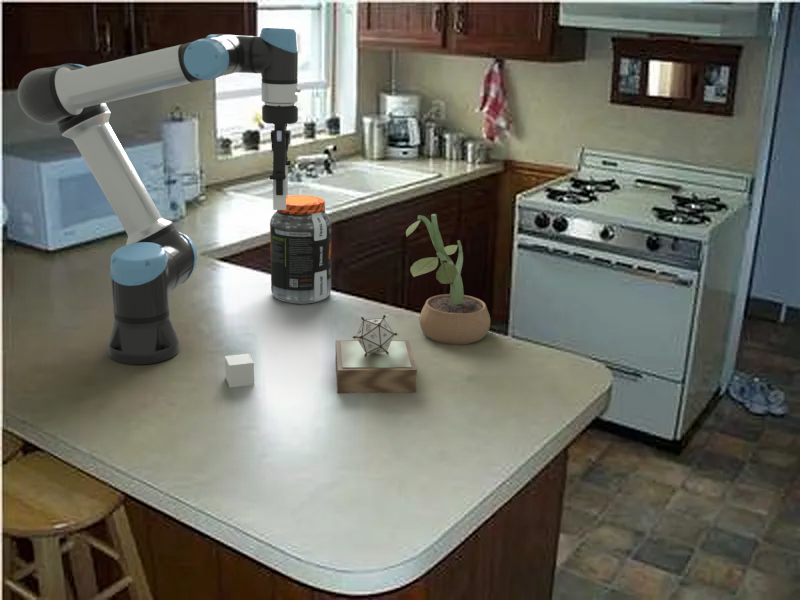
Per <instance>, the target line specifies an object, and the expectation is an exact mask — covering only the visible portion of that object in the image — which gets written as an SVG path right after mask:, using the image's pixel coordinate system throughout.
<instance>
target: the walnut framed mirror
mask: <svg viewBox="0 0 800 600" xmlns="http://www.w3.org/2000/svg"><path fill="white" fill-rule="evenodd" d="M387 352H389V355H388V354H386V352H379V353H368V354H367V356H366V357H365V356H364V355H365V353H366V352H365V351H364V349H363V348H362V346H361V345H360V343H359V341H358V340H357V339H356V340H354V339H353V340H347V339H346V340H345V339H344V340H343V339H342V340H338V339H337V340H335V374H336V378H335V379H336V390H337V391H336V392H337V394H349V393H350V394H355V393H359V394H364V393H367V394H371V393H373V394H374V393H377V394H378V393H387V394H388V393H416V392H417V377H418V373H417V372H418V370H417V369H418V368H417V366H416V362H415V357H414V354H413V351H412V347H411V343H410V340H409V339H405V340H401V339H400V340H397V339H395V340H393V339H392V341H391V343H390V345H389V347H388V349H387Z"/></svg>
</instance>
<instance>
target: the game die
mask: <svg viewBox="0 0 800 600" xmlns="http://www.w3.org/2000/svg"><path fill="white" fill-rule="evenodd" d="M360 318H361V320H362V323H361V324H360V327H359V329H358V331H357V333H356V335H353V336H352V337H351V338H352V339H356V340H358V341H359V343H360V345H361V346H362V348H363V349H364V351H365V352H366V353H365V355H364V356H365V357H366V356H367V354H368V353H379V352H386V354H388V355H389V352H387V349H388V347H389V345H390V343H391V341H392V340H393V339H394V336H398V335H399V334H398V333H397V332H395V333H394V332H393V330H392V328H391V327H390V325H389V324H388V322H387V321H386V314H383V316H382V317H380V318H379V317H378V318H368V319H365V318H364V316H361V317H360Z"/></svg>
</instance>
